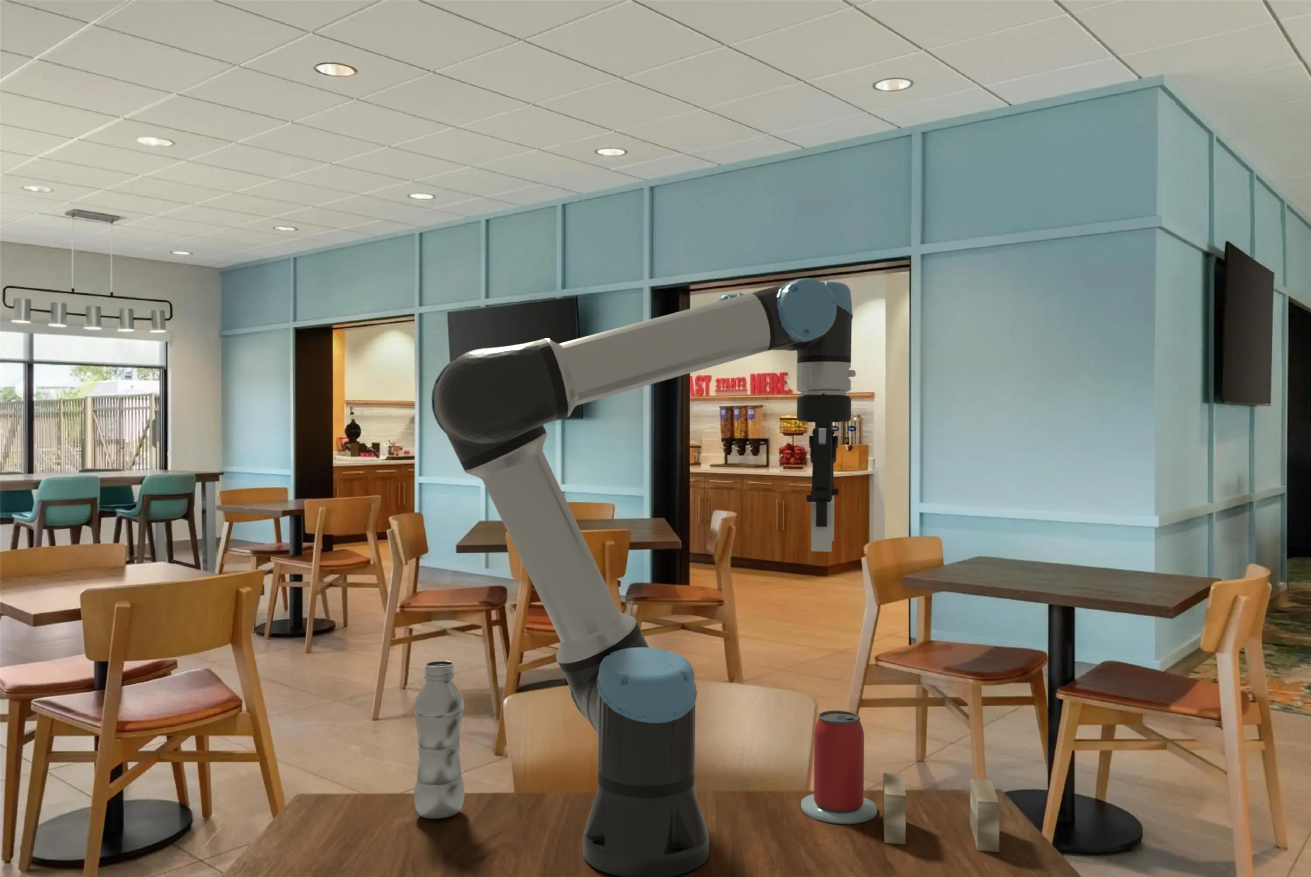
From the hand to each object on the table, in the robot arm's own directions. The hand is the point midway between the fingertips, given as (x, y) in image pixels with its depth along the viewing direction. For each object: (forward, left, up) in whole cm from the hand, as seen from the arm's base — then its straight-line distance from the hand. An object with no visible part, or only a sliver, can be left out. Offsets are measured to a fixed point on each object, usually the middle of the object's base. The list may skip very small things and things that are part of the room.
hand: (823, 545), depth 143 cm
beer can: (+2, -6, -34) cm, 35 cm away
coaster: (+2, -6, -35) cm, 35 cm away
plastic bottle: (-49, -19, -35) cm, 63 cm away
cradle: (+15, -12, -35) cm, 40 cm away
